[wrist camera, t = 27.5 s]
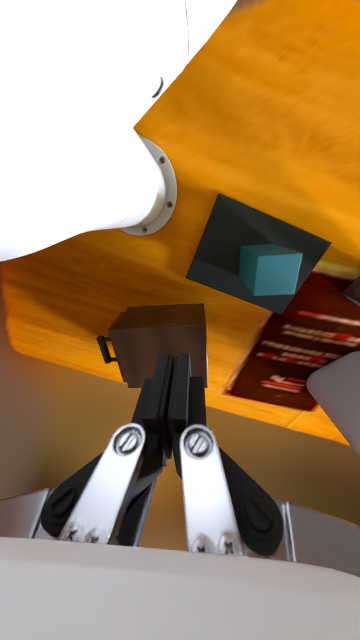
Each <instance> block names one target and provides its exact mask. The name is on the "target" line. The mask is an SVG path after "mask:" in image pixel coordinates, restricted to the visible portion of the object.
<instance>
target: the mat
mask: <svg viewBox="0 0 360 640" xmlns="http://www.w3.org/2000/svg"><path fill="white" fill-rule="evenodd" d="M260 244H275V245H279V246H282V247H285V248H288V249H291V250H294V251H297V252H300V253H302V258H301V263H300V268H299V273H298V277H297V282H296V287H295V292H294V294H284V295H262V296H253V294H252V293H251V292H250V290H249V289H248V288H247V286H246V285H245V284H244V282H243V281H242V280H241V278H240V277H239V266H240V250H241V246H247V245H260ZM330 245H331V242H329V241H326V240H324V239H322V238H320V237H317V236H315V235H313V234H310V233H308V232H306V231H304V230H301V229H299V228H297V227H295V226H292V225H290V224H288V223H285V222H283V221H281V220H279V219H276V218H274V217H272V216H270V215H267V214H265V213H263V212H260V211H258V210H256V209H254V208H251V207H249V206H247V205H245V204H242V203H240V202H238V201H235V200H233V199H231V198H229V197H226V196H224V195H222V194H220V193H219V194H218V196H217V199H216V202H215V204H214V207H213V209H212V212H211V214H210V217H209V220H208V222H207V225H206V227H205V230H204V232H203V235H202V238H201V240H200V243H199V245H198V248H197V250H196V253H195V256H194V258H193V261H192V263H191V266H190V269H189V271H188V274H187V276H186V278H187V279H190V280H192V281H195V282H198V283H200V284H203V285H205V286H208V287H211V288H213V289H216V290H218V291H221V292H224V293H226V294H229V295H232V296H234V297H237V298H239V299H242V300H245V301H247V302H250V303H252V304H255V305H258V306H260V307H263V308H265V309H268V310H271V311H273V312H276V313H278V314H282V312H283V311H284V309H285V308H286V307H287V305H288V304H289V302H290V301H291V300H292V298H293V297H294V295H295V294H296V292H297V291H298V290H299V288H300V287H301V285H302V284H303V283H304V281H305V280H306V278H307V277H308V276H309V274H310V273H311V271H312V270H313V268H314V267H315V266H316V264H317V263H318V261H319V260H320V259H321V257H322V256H323V254H324V253H325V252H326V250H327V249H328V247H329V246H330Z"/></svg>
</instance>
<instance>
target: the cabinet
mask: <svg viewBox="0 0 360 640" xmlns="http://www.w3.org/2000/svg"><path fill="white" fill-rule="evenodd" d="M112 333H113V336H114V339H115V343H116V346H117V350H118V353H119V357H120V360H121V363H122V367H123V370H124V374H125V377H126V380H127V384H128V387H129V388H142V386H143V383H144V380H145V378H146V377H154V373H155V369H156V365H157V362H158V358H159V354H160V353H170V356H174V363H175V359H176V356H178V355H179V354H180V353H190V364H191V377H204V388H208V378H207V336H206V318H205V308H204V303H200V304H180V305H160V306H140V307H128V309H127V310H126V311H125V312H124V314H123V315H122V316H121V318H120V319H119V320H118V322H117V323H116V324H115V325H114V327H113V328H112Z"/></svg>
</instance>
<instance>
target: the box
mask: <svg viewBox="0 0 360 640" xmlns="http://www.w3.org/2000/svg"><path fill="white" fill-rule="evenodd" d="M342 294H343V295H344V296H346V297H347V298H348V299H350V300H351V301H353V302H354V303H355V304H357V305H358V306H360V277H359V278H358V279H357V280H356V281H354V282H353V283H352V284H351V285H350V286H349V287H348V288H347V289H346V290H345V291H344V292H343V293H342Z"/></svg>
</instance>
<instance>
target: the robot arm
mask: <svg viewBox="0 0 360 640" xmlns="http://www.w3.org/2000/svg"><path fill="white" fill-rule="evenodd" d="M236 1H237V0H0V261H5V260H9V259H14V258H18V257H21V256H25V255H28V254H31V253H34V252H36V251H39V250H42V249H44V248H47V247H49V246H51V245H54V244H56V243H58V242H61V241H63V240H66V239H68V238H70V237H73V236H75V235H77V234H80V233H84V232H87V231H93V230H104V229H113V228H118V229H120V230H122V231H124V232H126V233H128V234H132V235H138V236H142V235H149V234H152V233H154V232H156V231H158V230H159V229H161V228H162V227H163V226H164V225H165V224H166V223H167V222H168V220H169V219H170V217H171V215H172V214H173V211H174V208H175V205H176V200H177V183H176V177H175V173H174V170H173V167H172V165H171V163H170V161H169V159H168V158H167V156H166V155H165V153H164V152H163V151H162V150H161V149H160V148H159V147H158V146H157V145H156V144H155V143H153V142H152V141H151V140H148V139H146V138H144V137H141V136H138V135H137V133H136V132H135V130H134V129H133V127H134V125H135V124H136V123H137V122H138V121H139V120H140V119H141V117H142V116H143V115H144V114H145V113H146V112H147V111H148V109H149V108H150V107H151V106H152V105H153V104H154V103H155V101H156V100H157V99H158V98H159V97H160V96H161V95H162V93H163V92H164V91H165V90H166V89H167V88H168V87H169V85H170V84H171V83H172V82H173V81H174V80H175V79H176V77H177V76H178V75H179V74H180V73H181V72H182V70H183V69H184V67H185V66H186V65H187V64H188V62H189V61H190V60H191V59H192V58H193V57H194V55H195V54H196V53H197V52H198V51H199V50H200V48H201V47H202V46H203V45H204V44H205V42H206V41H207V40H208V39H209V37H210V36H211V35H212V33H213V32H214V31H215V30H216V28H217V27H218V26H219V24H220V23H221V22H222V21H223V19H224V18H225V17H226V15H227V14H228V13H229V12H230V10H231V9H232V7H233V5H234V4H235V2H236ZM162 160H164V163H161V161H162ZM169 203H171V204H172V206H171V207H169ZM145 228H146V229H147V231H145V230H144V229H145ZM205 409H206V408H205V389H204V377H191V364H190V353H180V354H179V355H178V356H176V359H175V363H174V356H170V353H160V354H159V358H158V362H157V365H156V369H155V373H154V377H146V378H145V380H144V383H143V386H142V390H141V393H140V396H139V399H138V402H137V405H136V409H135V412H134V415H133V418H132V421H131V423H129V424H125V425H124V426H122V427H120V428H119V429H118V430H117V431H116V432H115V433H114V434H113V436H112V437H111V439H110V441H109V443H108V445H107V447H106V449H105V451H104V452H103V453H101V454H100V455H98V456H97V457H96V458H95V459H93V460H92V461H91V462H89V463H88V464H87V465H85V466H84V467H83V468H82V469H80V470H79V471H77V472H76V473H75V474H74V475H72V476H71V477H70V478H68V479H67V480H66V481H64V482H63V483H62V484H60V485H59V486H58V487H57V488H56V489H53V490H51V489H50V488H46V489H42V490H38V491H34V492H30V493H26V494H21V495H17V496H13V497H9V498H5V499H0V640H360V527H359V526H357V525H355V524H353V523H351V522H349V521H345V520H342V519H339V518H336V517H333V516H330V515H327V514H324V513H321V512H318V511H315V510H312V509H309V508H306V507H303V506H300V505H297V504H294V503H291V502H288V501H285V503H284V502H280V501H277V500H275V499H272V498H271V497H270V496H269V495H268V494H267V493H266V492H265V491H264V490H263V489H262V488H261V487H260V486H259V485H258V484H257V483H256V482H255V481H254V480H253V479H252V478H251V477H250V476H249V475H248V474H247V473H246V472H245V471H243V469H242V468H241V467H239V466H238V465H237V464H236V463H235V462H234V461H233V460H232V459H231V458H230V457H229V456H228V455H227V454H226V453H225V452H224V451H223V450H222V449H221V448H220V447H219V446H218V444H217V440H216V437H215V434H214V433H213V432H212V430H211V429H210V428H208V427H207V426H206V410H205ZM172 450H173V454H174V460H175V465H176V470H177V473H178V475H179V476H180V478H181V479H182V483H183V496H184V511H185V525H186V539H187V551H186V552H185V551H176V550H163V549H152V548H140V547H139V543H140V539H141V536H142V532H143V528H144V524H145V521H146V517H147V513H148V510H149V506H150V503H151V499H152V495H153V492H154V488H155V484H156V478H157V477H158V475H160V474H161V473H162V470H163V466H167V459H171V457H172Z"/></svg>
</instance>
